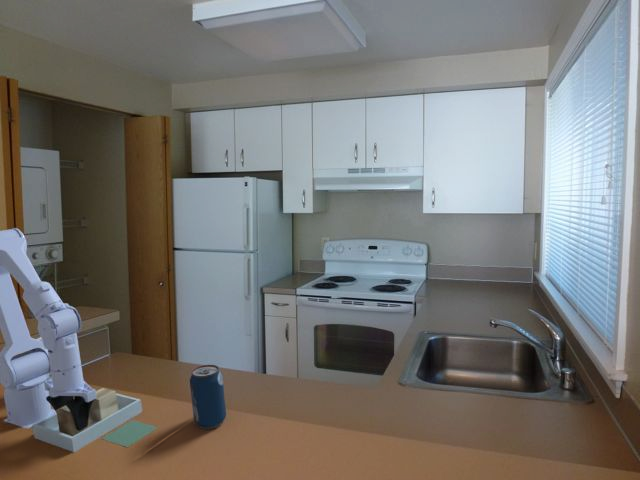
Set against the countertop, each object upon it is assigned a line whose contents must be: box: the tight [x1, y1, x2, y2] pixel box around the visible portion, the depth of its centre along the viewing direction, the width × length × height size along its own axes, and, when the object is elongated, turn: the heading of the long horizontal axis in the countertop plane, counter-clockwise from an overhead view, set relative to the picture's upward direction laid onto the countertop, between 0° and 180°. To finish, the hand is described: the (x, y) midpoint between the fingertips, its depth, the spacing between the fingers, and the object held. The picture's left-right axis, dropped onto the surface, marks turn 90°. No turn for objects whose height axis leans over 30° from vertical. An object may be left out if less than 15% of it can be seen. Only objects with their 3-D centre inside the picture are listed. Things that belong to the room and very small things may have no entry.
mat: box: [100, 419, 159, 448], centre depth 103 cm, size 8×8×1 cm
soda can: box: [189, 364, 227, 430], centre depth 106 cm, size 7×7×12 cm
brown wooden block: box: [56, 405, 91, 436], centre depth 104 cm, size 4×4×6 cm
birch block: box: [89, 387, 118, 422], centre depth 110 cm, size 4×4×6 cm
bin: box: [32, 392, 143, 453], centre depth 108 cm, size 13×17×4 cm
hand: (75, 425), depth 105 cm, fingers closed on brown wooden block, 4 cm apart
